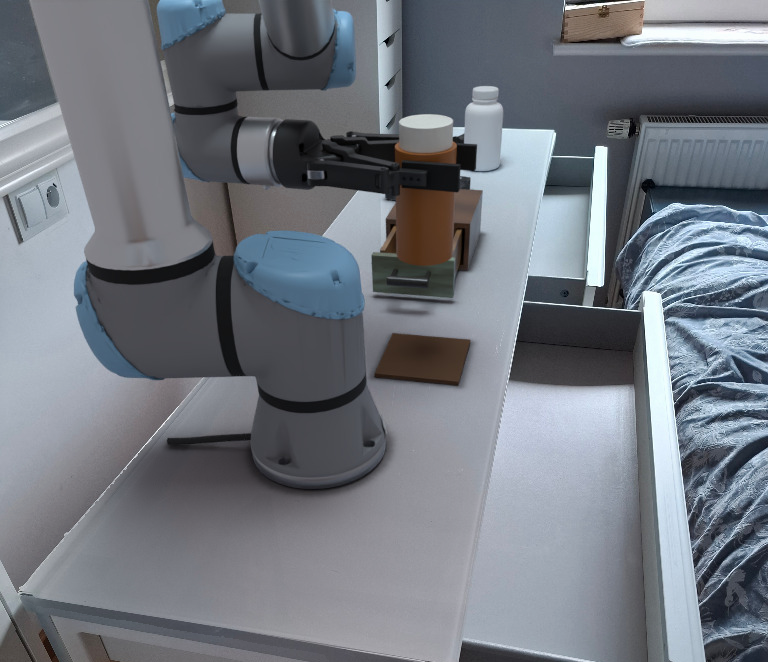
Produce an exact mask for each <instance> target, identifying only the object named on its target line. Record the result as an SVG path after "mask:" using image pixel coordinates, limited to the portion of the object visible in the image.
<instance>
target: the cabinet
mask: <svg viewBox="0 0 768 662" xmlns="http://www.w3.org/2000/svg"><path fill="white" fill-rule="evenodd" d="M483 193H484V190H483V189H470V190H467V189H460V190H459V192H455V208H454V228H464V231H463V252H462V259H461V262H460V265H459V267H458V270H457V271H468V270H469V268H470V265H471V262H472V260H473V256H474V254H475V250H476V247H477V244H478V242H479V239H480V236H481V225H482V211H483ZM395 224H396V202H395V203H394V204H393V206H392V208H391V209H390V211H389V212H388V214H387V215H386V217H385V240H386V239H387V237H388V235H389V234H390V232H391V230H392V228H393V227H394V225H395Z"/></svg>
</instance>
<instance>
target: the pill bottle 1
mask: <svg viewBox="0 0 768 662" xmlns="http://www.w3.org/2000/svg"><path fill="white" fill-rule="evenodd" d="M398 134H399V142H398V143H397V144H396V145H395V163H399V164H400V168H402V161H403V160H410V161H423V162H437V163H450V164H456V155H457V144H456V143H455V142H453V137H454V119H453V118H451V117H449V116H446V115H443V114H432V113H427V114H426V113H425V114H424V113H423V114H422V113H421V114H415V115H414V114H413V115H409V116H406V117H403V118H401V119H400V120H399V121H398ZM395 203H396V248H397V257H398V259H399V260H401V261H402V262H405V263H408V264H412V265H419V266H429V265H437V264H441V263H444V262H446V261H448V260H449V259H450V258H451V257H452V255H453V234H454V208H455V192H446V191H435V190H423V189H411V188H402V185H400V195H398V196H396V200H395Z"/></svg>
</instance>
